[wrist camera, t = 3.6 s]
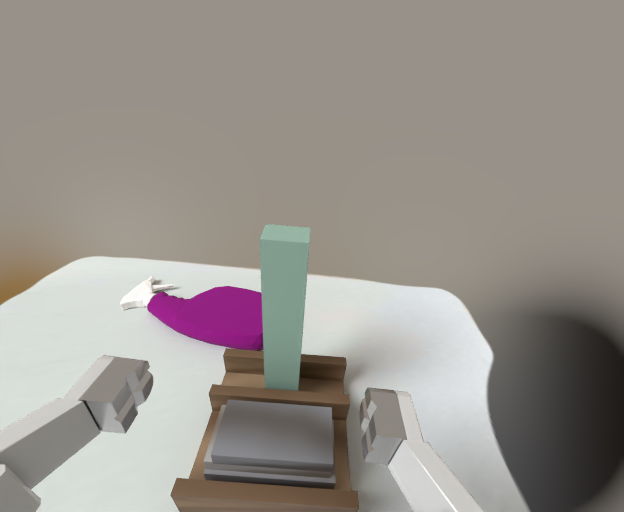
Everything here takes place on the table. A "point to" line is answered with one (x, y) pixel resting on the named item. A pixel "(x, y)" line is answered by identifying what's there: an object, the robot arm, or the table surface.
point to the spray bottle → (206, 313)
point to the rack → (251, 387)
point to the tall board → (283, 302)
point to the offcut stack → (272, 445)
